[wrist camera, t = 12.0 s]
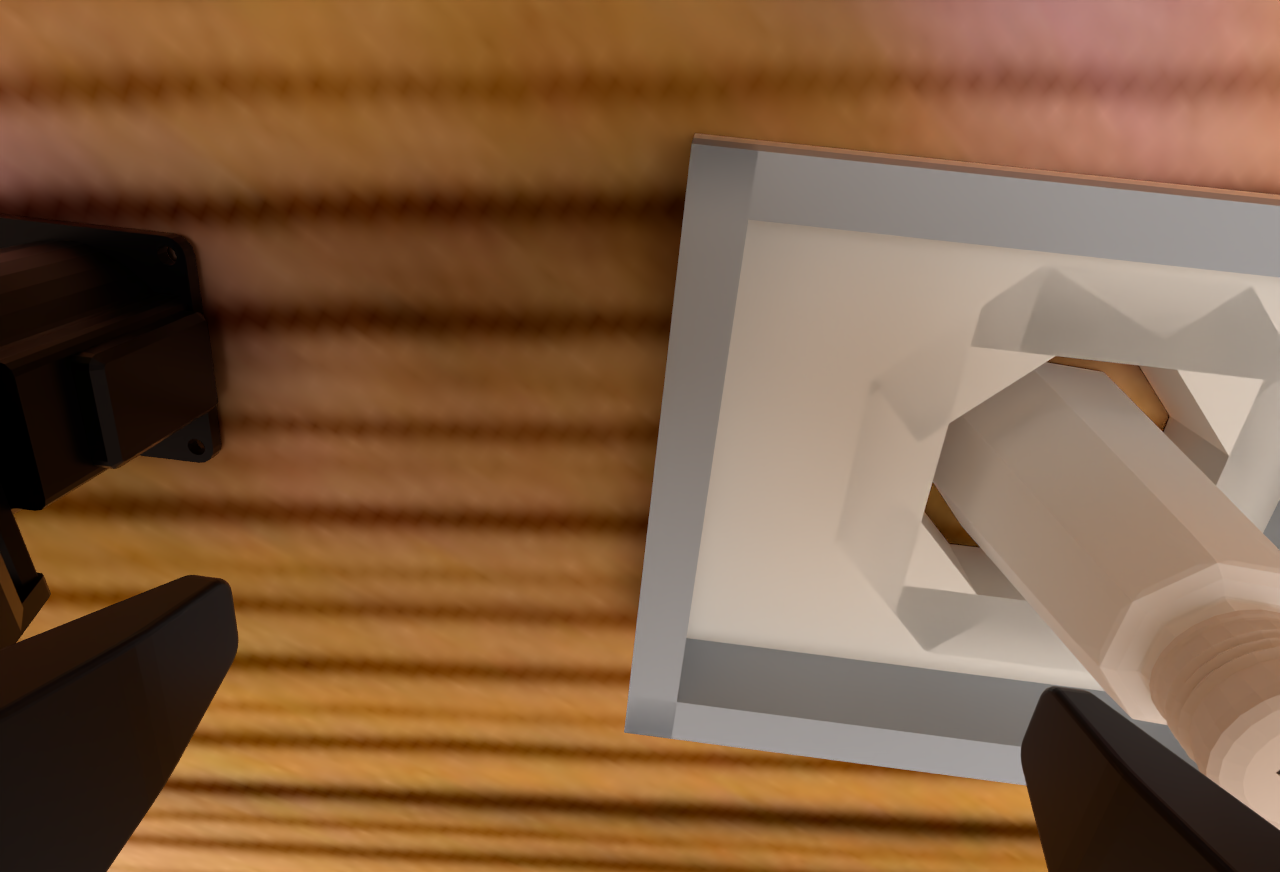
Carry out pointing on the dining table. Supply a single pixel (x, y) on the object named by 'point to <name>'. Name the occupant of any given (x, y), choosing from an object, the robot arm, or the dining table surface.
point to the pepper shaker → (1130, 564)
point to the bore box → (911, 433)
